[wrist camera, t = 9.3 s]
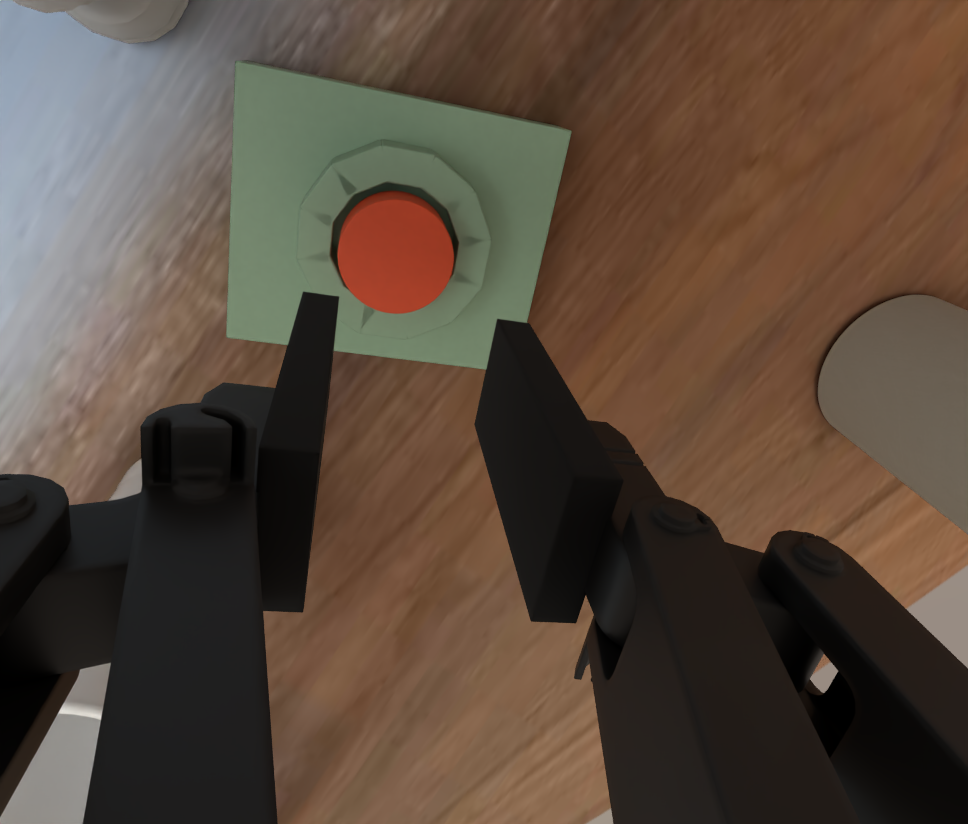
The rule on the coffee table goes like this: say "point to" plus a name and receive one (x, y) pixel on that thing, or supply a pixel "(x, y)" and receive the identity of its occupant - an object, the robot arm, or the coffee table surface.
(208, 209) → the coffee table surface
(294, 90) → the button box
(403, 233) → the button
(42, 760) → the drinking glass
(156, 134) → the coffee table surface
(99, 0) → the rook chess piece
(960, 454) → the travel mug
